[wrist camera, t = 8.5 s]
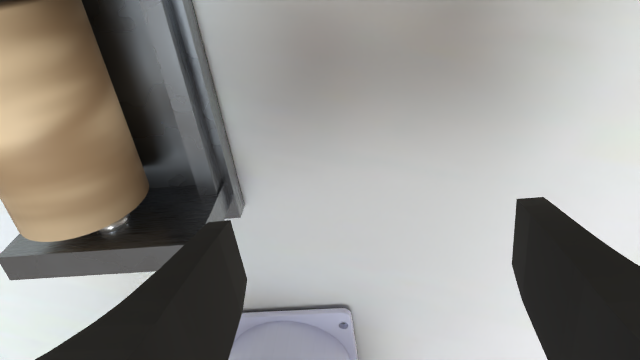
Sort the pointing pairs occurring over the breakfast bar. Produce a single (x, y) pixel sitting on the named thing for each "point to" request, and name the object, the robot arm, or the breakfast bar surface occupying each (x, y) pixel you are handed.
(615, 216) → the breakfast bar surface
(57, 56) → the cylinder
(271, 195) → the breakfast bar surface
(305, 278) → the breakfast bar surface
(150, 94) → the holder
